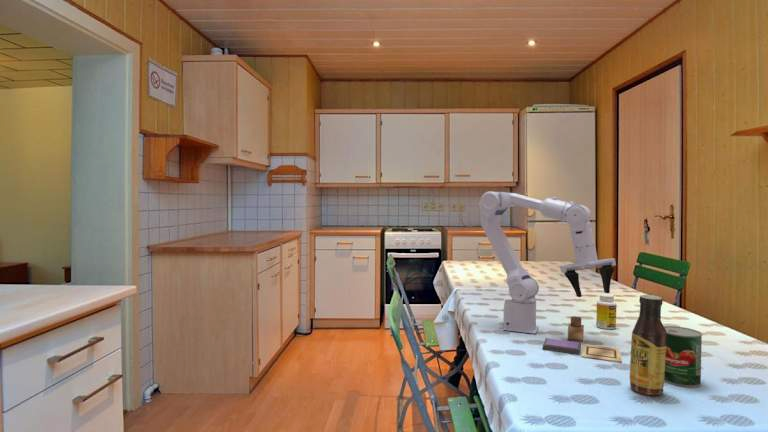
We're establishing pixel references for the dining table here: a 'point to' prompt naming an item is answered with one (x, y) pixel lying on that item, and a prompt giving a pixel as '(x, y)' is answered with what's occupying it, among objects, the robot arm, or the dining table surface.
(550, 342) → the ink pad
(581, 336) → the stamp
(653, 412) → the dining table surface
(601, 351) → the card sheet
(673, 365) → the canned tomato
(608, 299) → the supplement bottle
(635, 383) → the sauce bottle
